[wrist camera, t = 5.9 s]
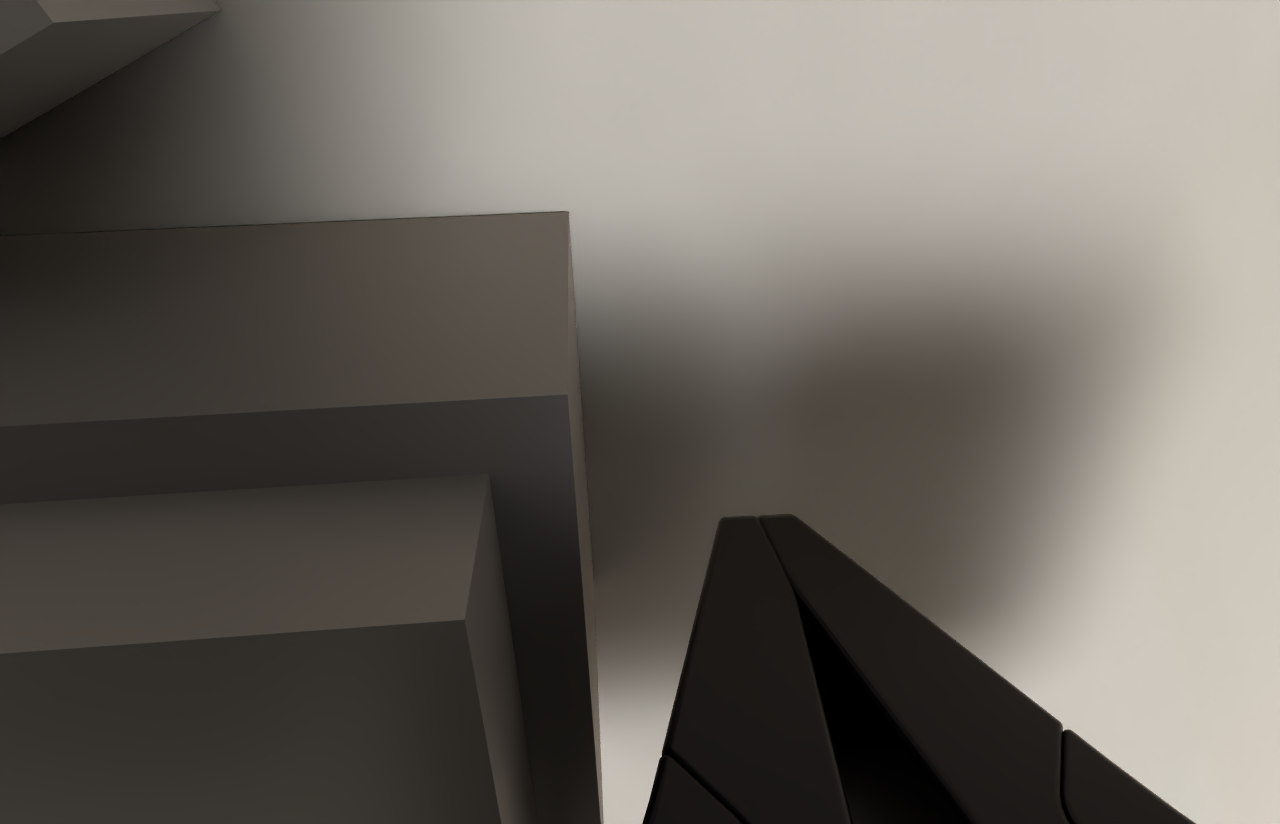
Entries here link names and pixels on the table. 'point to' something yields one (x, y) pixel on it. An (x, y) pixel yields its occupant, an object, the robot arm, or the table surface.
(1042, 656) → the table surface
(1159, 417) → the table surface
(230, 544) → the two tier gray step
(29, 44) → the green block with prongs
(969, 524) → the table surface
